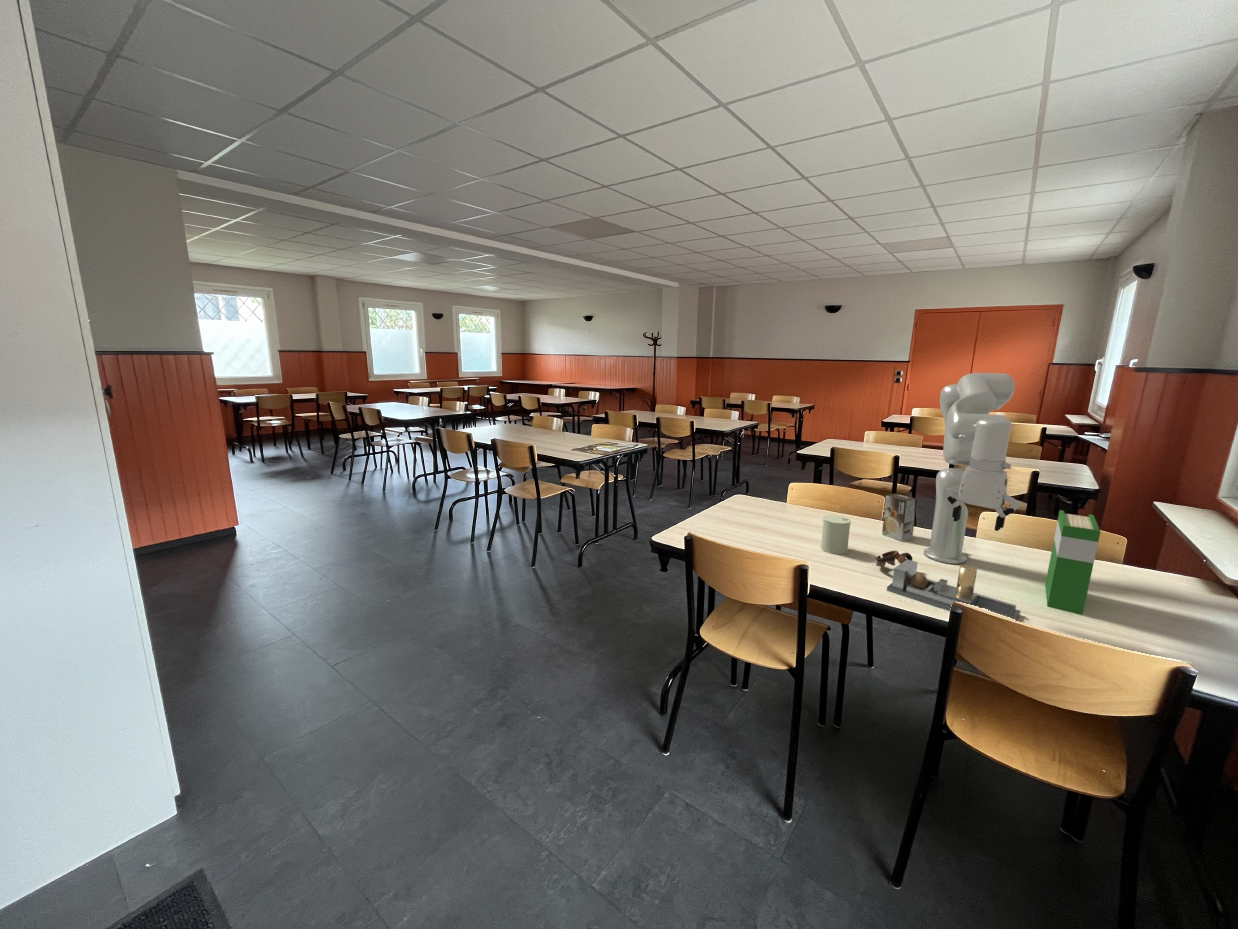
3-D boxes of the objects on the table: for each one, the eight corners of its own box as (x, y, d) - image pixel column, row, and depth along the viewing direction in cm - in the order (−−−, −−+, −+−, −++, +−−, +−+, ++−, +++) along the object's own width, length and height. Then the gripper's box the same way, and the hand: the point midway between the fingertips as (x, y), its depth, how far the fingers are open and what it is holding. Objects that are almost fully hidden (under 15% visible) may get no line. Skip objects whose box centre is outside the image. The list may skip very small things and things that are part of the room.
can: (852, 554, 179) (855, 522, 177) (826, 554, 180) (829, 521, 177) (841, 544, 188) (844, 514, 186) (816, 544, 189) (819, 513, 186)
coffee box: (913, 539, 194) (918, 499, 191) (902, 541, 191) (907, 501, 188) (891, 531, 202) (896, 493, 199) (880, 534, 200) (885, 494, 196)
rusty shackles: (900, 583, 158) (887, 558, 159) (877, 584, 167) (866, 561, 168) (926, 567, 162) (913, 543, 163) (902, 569, 171) (891, 546, 172)
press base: (902, 578, 160) (904, 557, 158) (1019, 614, 138) (1024, 590, 136) (886, 590, 152) (889, 568, 151) (1008, 630, 130) (1013, 604, 129)
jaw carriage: (940, 589, 150) (945, 557, 148) (977, 600, 143) (982, 567, 141) (932, 597, 145) (936, 564, 143) (969, 608, 138) (975, 574, 136)
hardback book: (1045, 584, 156) (1059, 510, 151) (1077, 591, 152) (1093, 514, 147) (1047, 606, 143) (1063, 525, 137) (1082, 614, 138) (1100, 531, 133)
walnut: (912, 583, 154) (914, 570, 153) (928, 588, 151) (930, 574, 150) (907, 587, 151) (909, 574, 150) (923, 592, 148) (925, 579, 147)
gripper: (1030, 468, 132) (1018, 530, 136) (954, 457, 144) (945, 514, 148) (1023, 473, 127) (1011, 537, 131) (945, 461, 140) (936, 520, 144)
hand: (976, 524), depth 140 cm, fingers open, 9 cm apart
